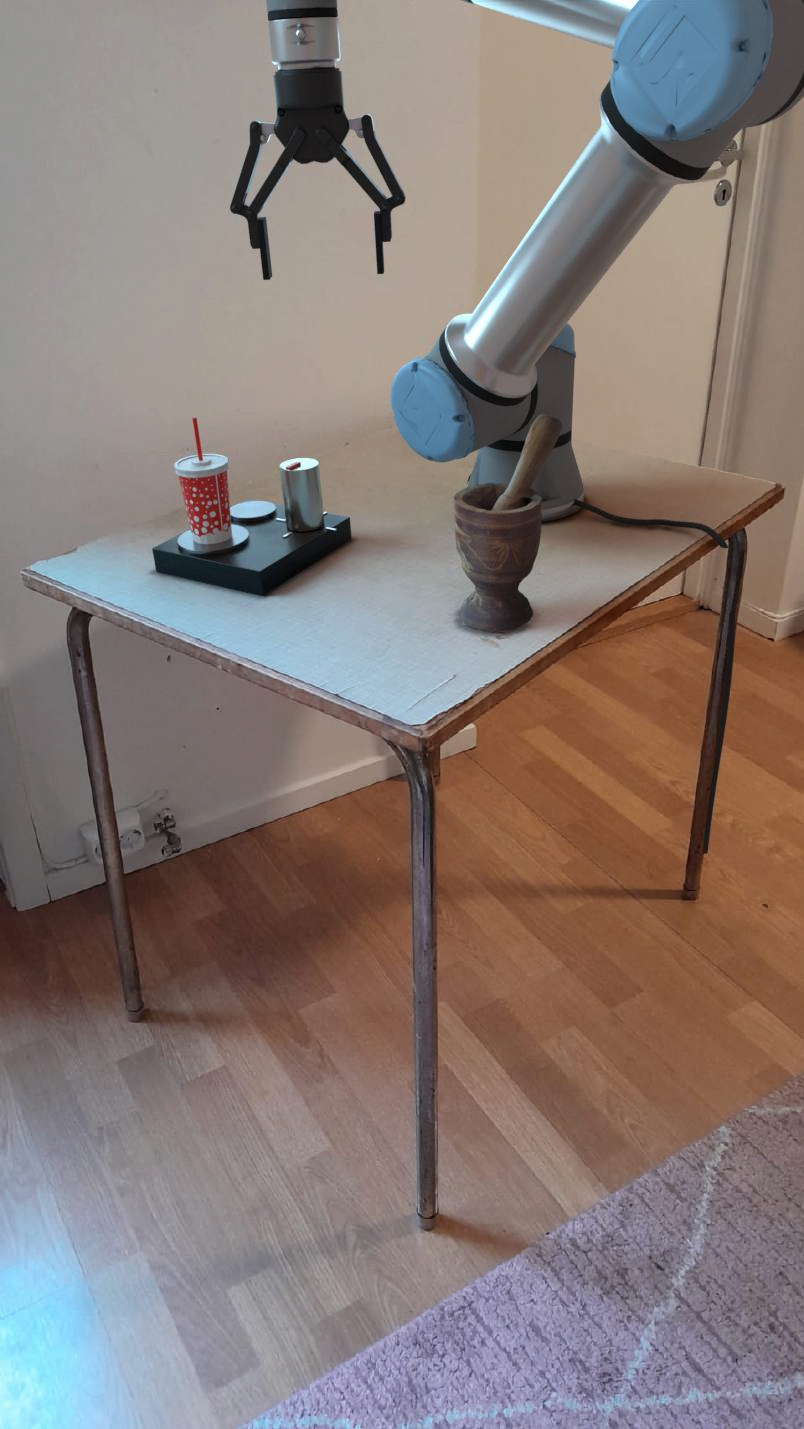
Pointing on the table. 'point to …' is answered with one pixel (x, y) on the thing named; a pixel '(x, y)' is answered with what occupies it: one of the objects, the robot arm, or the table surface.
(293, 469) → the knob
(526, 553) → the mortar and pestle
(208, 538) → the beverage cup
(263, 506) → the hot plates
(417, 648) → the table surface
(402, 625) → the table surface
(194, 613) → the table surface
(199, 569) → the hob
